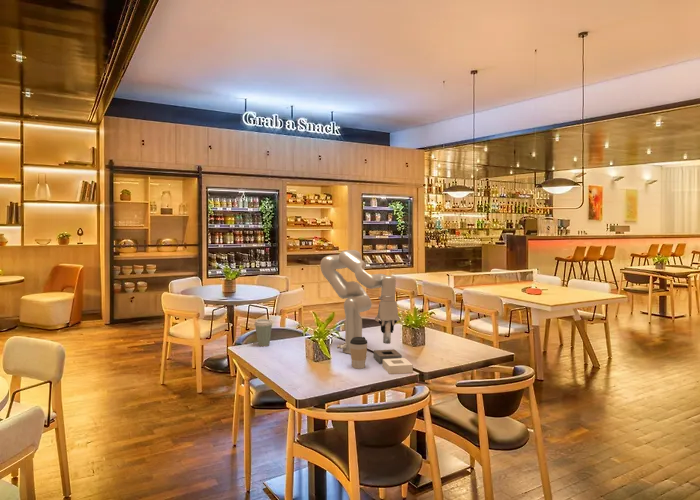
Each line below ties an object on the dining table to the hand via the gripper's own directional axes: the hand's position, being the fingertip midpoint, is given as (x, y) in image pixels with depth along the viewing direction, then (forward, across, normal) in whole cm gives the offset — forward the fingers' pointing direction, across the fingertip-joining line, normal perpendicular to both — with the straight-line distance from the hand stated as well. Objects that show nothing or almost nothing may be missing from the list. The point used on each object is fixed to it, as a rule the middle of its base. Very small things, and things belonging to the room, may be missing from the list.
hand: (387, 332), depth 262 cm
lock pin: (+6, 0, 0) cm, 6 cm away
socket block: (+15, 0, -18) cm, 23 cm away
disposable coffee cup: (+17, -63, +43) cm, 78 cm away
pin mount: (+15, 0, 0) cm, 15 cm away
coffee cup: (+15, -18, -8) cm, 25 cm away
